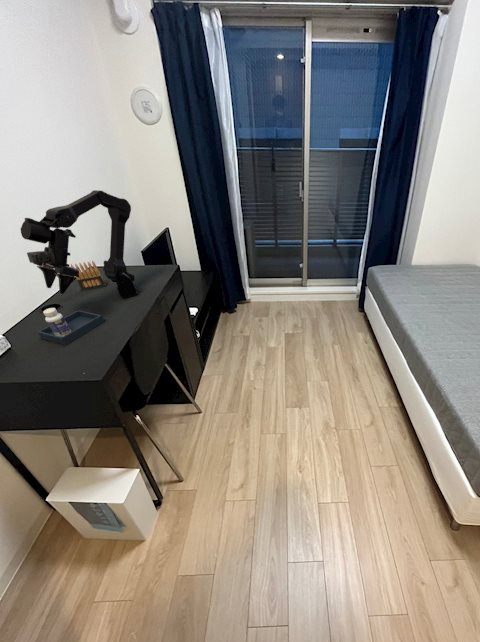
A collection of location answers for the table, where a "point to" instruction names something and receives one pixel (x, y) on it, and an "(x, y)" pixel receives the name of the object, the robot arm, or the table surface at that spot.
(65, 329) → the pill bottle
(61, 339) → the tray
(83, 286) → the ammunition clip
